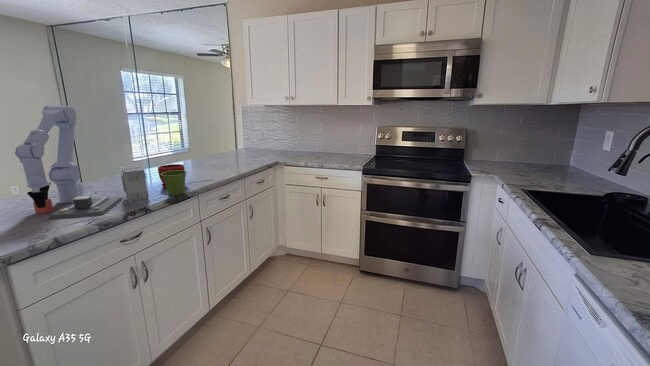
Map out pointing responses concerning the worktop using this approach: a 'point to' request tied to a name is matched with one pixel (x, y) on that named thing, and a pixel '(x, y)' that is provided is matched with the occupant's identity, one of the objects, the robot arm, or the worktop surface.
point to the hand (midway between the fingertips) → (43, 205)
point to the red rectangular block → (45, 209)
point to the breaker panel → (96, 209)
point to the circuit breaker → (135, 185)
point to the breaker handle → (82, 202)
